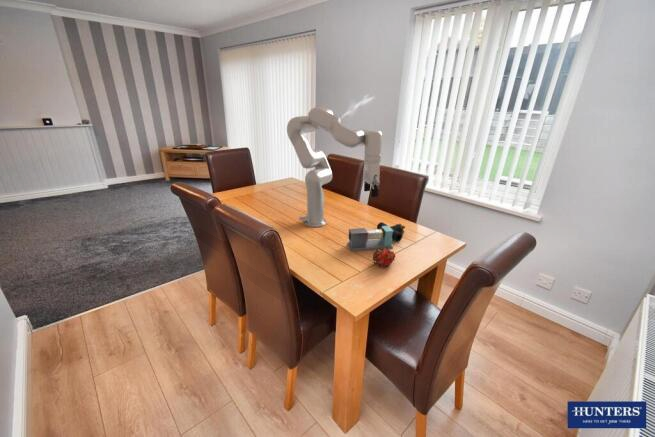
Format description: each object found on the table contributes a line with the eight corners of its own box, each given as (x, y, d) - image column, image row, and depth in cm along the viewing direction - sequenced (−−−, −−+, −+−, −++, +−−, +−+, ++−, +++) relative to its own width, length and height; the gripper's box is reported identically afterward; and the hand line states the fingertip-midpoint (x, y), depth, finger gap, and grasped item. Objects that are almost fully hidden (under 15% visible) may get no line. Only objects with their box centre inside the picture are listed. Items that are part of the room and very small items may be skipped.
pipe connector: (393, 218, 156) (412, 229, 144) (392, 227, 158) (411, 238, 146) (377, 222, 151) (395, 234, 139) (376, 231, 154) (394, 243, 142)
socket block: (384, 246, 135) (386, 231, 132) (380, 240, 141) (381, 226, 137) (391, 245, 136) (393, 231, 132) (386, 239, 141) (388, 225, 138)
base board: (351, 252, 132) (351, 249, 131) (347, 244, 139) (347, 241, 138) (392, 248, 135) (392, 246, 135) (386, 240, 143) (386, 238, 142)
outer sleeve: (351, 248, 132) (351, 233, 129) (348, 243, 137) (349, 229, 134) (366, 247, 134) (368, 232, 131) (363, 242, 138) (364, 227, 135)
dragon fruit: (369, 269, 121) (390, 267, 126) (380, 267, 114) (403, 265, 119) (366, 250, 123) (388, 248, 128) (377, 247, 116) (399, 245, 121)
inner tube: (352, 240, 132) (353, 234, 130) (350, 237, 135) (351, 231, 134) (382, 238, 135) (383, 232, 133) (379, 235, 138) (380, 229, 136)
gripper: (358, 155, 134) (357, 189, 141) (371, 162, 119) (369, 199, 125) (373, 155, 136) (371, 188, 142) (387, 161, 120) (385, 198, 127)
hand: (370, 193), depth 134 cm, fingers open, 9 cm apart
